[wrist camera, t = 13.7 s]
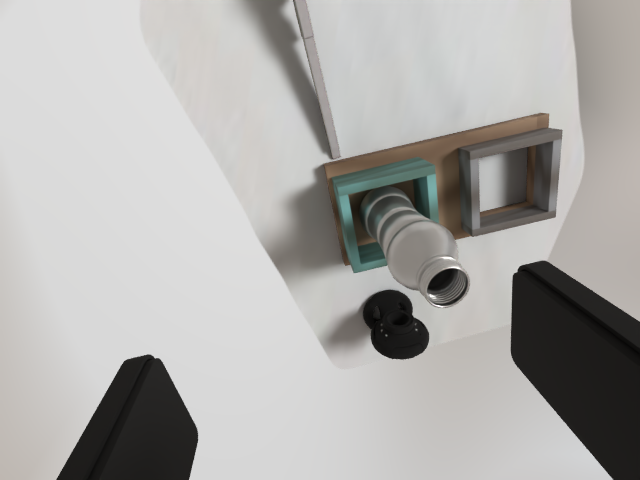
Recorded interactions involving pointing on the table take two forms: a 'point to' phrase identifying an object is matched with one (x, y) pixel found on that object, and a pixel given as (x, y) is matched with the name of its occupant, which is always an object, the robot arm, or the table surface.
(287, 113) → the table surface
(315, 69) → the caliper
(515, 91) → the table surface
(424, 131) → the table surface
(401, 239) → the metal bottle
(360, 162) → the sorting tray
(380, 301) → the webcam
